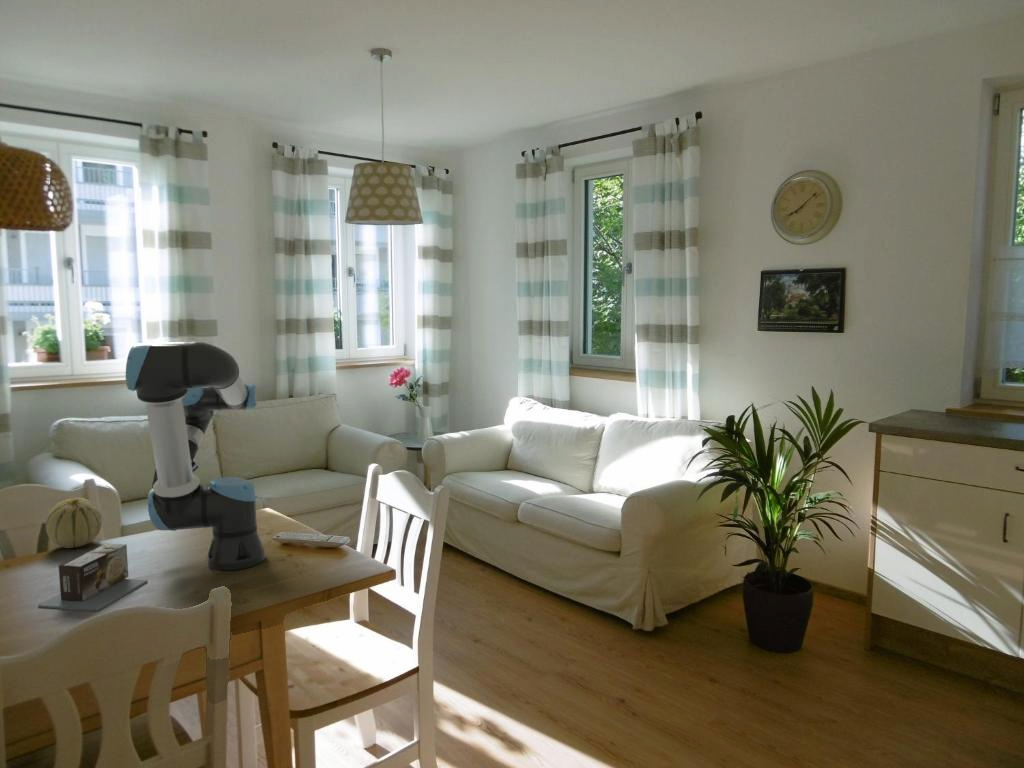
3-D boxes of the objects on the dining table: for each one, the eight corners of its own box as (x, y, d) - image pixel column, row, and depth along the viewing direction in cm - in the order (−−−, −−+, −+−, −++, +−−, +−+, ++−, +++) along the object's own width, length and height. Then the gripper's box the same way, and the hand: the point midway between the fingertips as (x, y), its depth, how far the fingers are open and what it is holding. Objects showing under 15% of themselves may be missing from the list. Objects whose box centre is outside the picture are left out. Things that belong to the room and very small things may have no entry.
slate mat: (147, 582, 190) (147, 580, 190) (97, 611, 172) (97, 609, 172) (92, 578, 192) (92, 577, 192) (38, 607, 175) (37, 605, 175)
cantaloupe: (80, 536, 228) (77, 489, 226) (115, 541, 223) (111, 493, 221) (35, 551, 214) (30, 501, 212) (70, 557, 209) (66, 506, 207)
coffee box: (105, 542, 192) (57, 563, 176) (127, 544, 191) (80, 565, 175) (108, 576, 193) (60, 600, 177) (129, 577, 192) (83, 602, 176)
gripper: (211, 450, 223) (182, 520, 208) (172, 449, 225) (140, 518, 210) (200, 436, 217) (169, 507, 202) (160, 435, 219) (127, 505, 204)
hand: (155, 513), depth 206 cm, fingers closed
